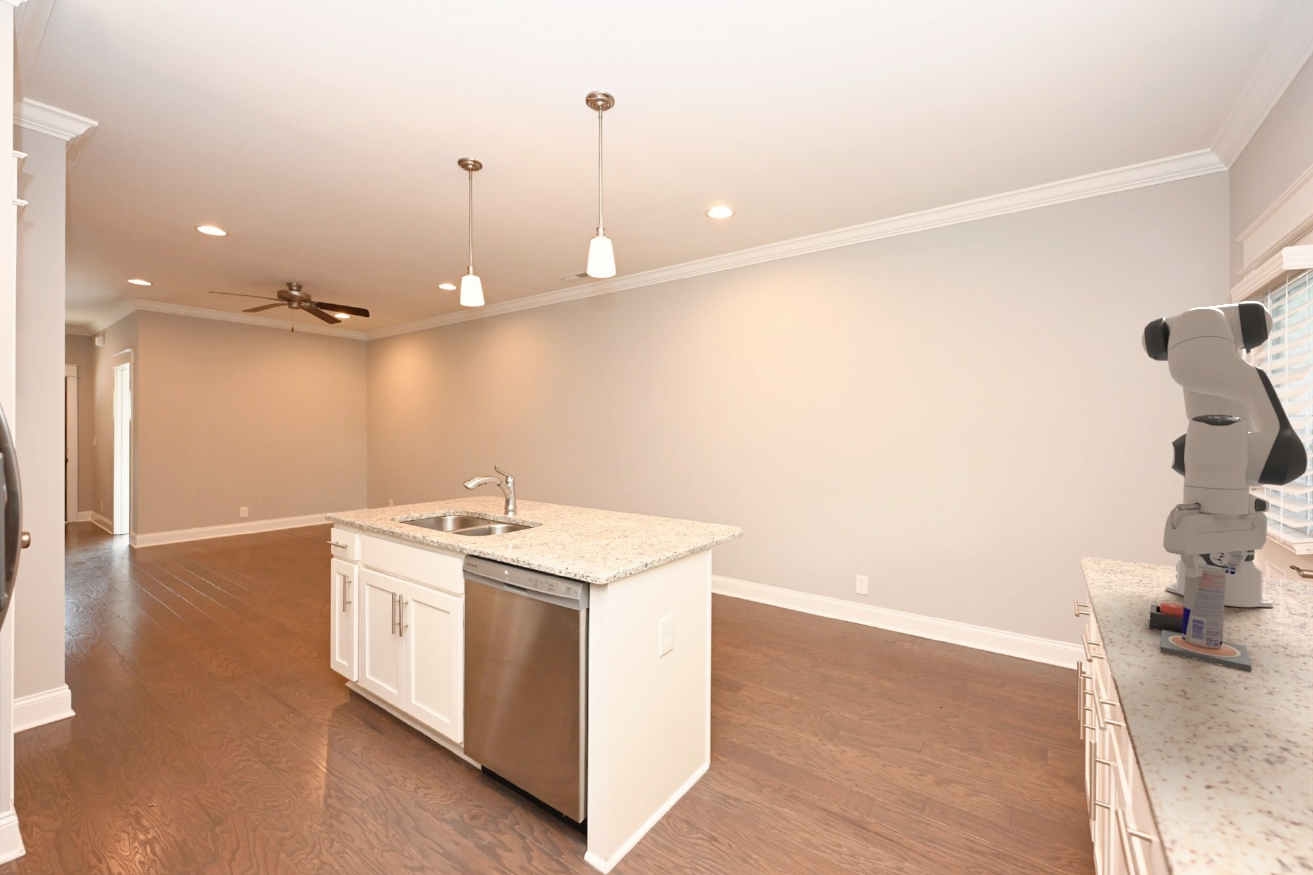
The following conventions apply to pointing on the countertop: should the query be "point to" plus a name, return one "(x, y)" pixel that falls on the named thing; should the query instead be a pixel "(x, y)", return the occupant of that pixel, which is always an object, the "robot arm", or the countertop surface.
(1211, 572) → the beverage can
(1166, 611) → the button
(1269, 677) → the countertop surface
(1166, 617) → the button housing
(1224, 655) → the picture board
